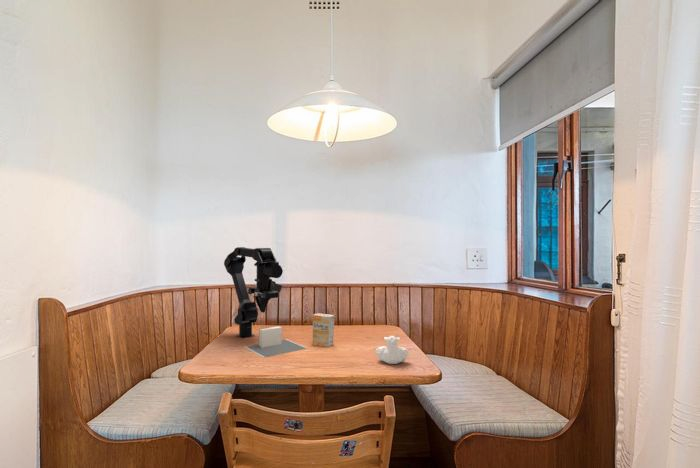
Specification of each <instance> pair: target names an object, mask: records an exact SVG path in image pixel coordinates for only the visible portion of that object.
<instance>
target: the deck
mask: <svg viewBox="0 0 700 468" xmlns="http://www.w3.org/2000/svg"><path fill="white" fill-rule="evenodd" d="M282 336H283V328H282V326H279V325H277V326H271V327H265V328H259V329H258V344H259V346H260V347H262V348H263V347H268V346H273V345H279V344H282V340H283V337H282Z"/></svg>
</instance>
